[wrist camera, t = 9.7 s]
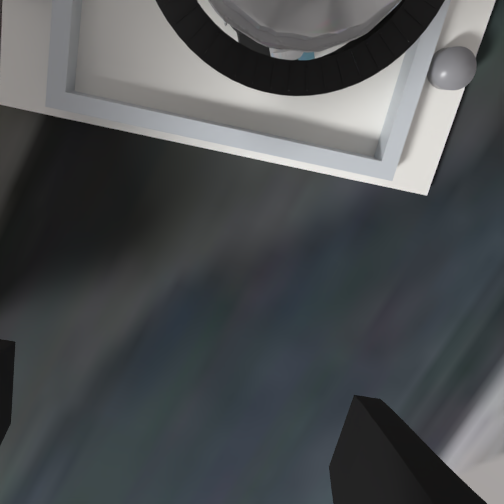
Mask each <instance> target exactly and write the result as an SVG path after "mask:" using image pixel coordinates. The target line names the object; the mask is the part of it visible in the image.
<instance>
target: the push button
mask: <svg viewBox="0 0 504 504" xmlns="http://www.w3.org/2000/svg"><path fill="white" fill-rule="evenodd" d="M208 1H209V3H210V4H211V6H212V7H213V9H214V10H215V12H216V13H217V14H218V15H219V16H220V17H221V18H222V19H223V21H224V25H225V26H227V23H228V24H229V25H230V26H231V27H232V28H233V29H234V30H235V31H236V32H237V37H238V42H237V41H236V40H234V39H233V38H232V37H230V36H229V35H228V34H226V33H225V32H224V31H223V30H222V29H221V28H220V27H219V26H217V25H216V24H215V23H214V22H213V21H212V19H211V18H210V17H209V16H208V15H207V14H206V12H205V11H204V10H203V8H202V7H201V6H200V4H199V3H198V1H197V0H156V2H157V4H158V6H159V8H160V10H161V11H162V13H163V15H164V16H165V18H166V20H167V21H168V23H169V24H170V25H171V27H172V28H173V29H174V31H175V32H176V34H177V35H178V36H179V37H180V38H181V40H182V41H183V42H184V43H185V44H186V45H187V46H188V47H189V48H190V50H191V51H193V52H194V53H195V54H196V55H197V56H198V57H199V58H200V59H201V60H203V61H204V62H205V63H206V64H208V65H209V66H210V67H212V68H213V69H215V70H216V71H217V72H219V73H221V74H222V75H224V76H226V77H228V78H229V79H231V80H233V81H235V82H237V83H240V84H242V85H244V86H246V87H249V88H252V89H256V90H259V91H262V92H266V93H272V94H277V95H286V96H312V95H319V94H326V93H330V92H334V91H338V90H342V89H345V88H347V87H350V86H353V85H355V84H358V83H360V82H362V81H364V80H366V79H368V78H370V77H372V76H374V75H375V74H377V73H378V72H380V71H381V70H383V69H384V68H386V67H388V66H389V65H390V64H391V63H393V62H394V61H395V60H396V59H398V58H399V57H400V56H401V55H402V54H404V53H405V52H406V51H407V50H408V49H409V48H410V47H411V46H412V45H413V44H414V43H415V42H416V41H417V39H418V38H419V37H420V36H421V35H422V33H423V32H424V31H425V30H426V29H427V27H428V26H429V25H430V23H431V22H432V20H433V19H434V17H435V16H436V15H437V13H438V11H439V10H440V8H441V6H442V5H443V3H444V1H445V0H208ZM347 42H348V43H347ZM344 43H347V44H346V45H344V46H342V47H341V48H339V49H337V50H336V51H334V52H331V53H329V54H327V55H324V56H322V57H318V58H315V56H314V52H320V51H323V50H326V49H329V48H332V47H335V46H338V45H341V44H344Z"/></svg>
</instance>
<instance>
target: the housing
mask: <svg viewBox="0 0 504 504" xmlns="http://www.w3.org/2000/svg"><path fill="white" fill-rule="evenodd" d="M197 1H198V3H199V4H200V6H201V7H202V8H203V10H204V11H205V12H206V14H207V15H208V16H209V17H210V18H211V19H212V21H213V22H214V23H215V24H216V25H217V26H219V27H220V28H221V29H222V30H223V31H224V32H225V33H226V34H228V35H229V36H230V37H232V38H233V39H234V40H236V41H237V42H238V37H237V32H236V31H235V30H234V29H233V28H232V27H231V26H230V25H229V24H228V23H227V26H225V25H224V21H223V19H222V18H221V17H220V16H219V15H218V14H217V13H216V12H215V10H214V9H213V7H212V6H211V4H210V3H209V1H208V0H197ZM495 1H496V0H445V1H444V3H443V5H442V6H441V8H440V10H439V11H438V13H437V15H436V16H435V17H434V19H433V20H432V22H431V23H430V25H429V26H428V27H427V29H426V30H425V31H424V32H423V33H422V35H421V36H420V37H419V38H418V39H417V41H416V42H415V43H414V44H413V45H412V46H411V47H410V48H409V49H408V50H407V51H406V52H405V53H404V54H402V55H401V56H400V57H399V58H398V59H396V60H395V61H394V62H393V63H391V64H390V65H389V66H388V67H386V68H384V69H383V70H381V71H380V72H378V73H377V74H375V75H374V76H372V77H370V78H368V79H366V80H364V81H362V82H360V83H358V84H355V85H353V86H350V87H347V88H345V89H342V90H338V91H334V92H330V93H326V94H319V95H312V96H286V95H277V94H272V93H266V92H262V91H259V90H256V89H252V88H249V87H246V86H244V85H242V84H240V83H237V82H235V81H233V80H231V79H229V78H228V77H226V76H224V75H222V74H221V73H219V72H217V71H216V70H215V69H213V68H212V67H210V66H209V65H208V64H206V63H205V62H204V61H203V60H201V59H200V58H199V57H198V56H197V55H196V54H195V53H194V52H193V51H191V50H190V48H189V47H188V46H187V45H186V44H185V43H184V42H183V41H182V40H181V38H180V37H179V36H178V35H177V34H176V32H175V31H174V29H173V28H172V27H171V25H170V24H169V23H168V21H167V20H166V18H165V16H164V15H163V13H162V11H161V10H160V8H159V6H158V4H157V2H156V0H2V28H1V57H0V105H4V106H9V107H13V108H18V109H23V110H28V111H32V112H37V113H42V114H46V115H51V116H56V117H60V118H65V119H70V120H75V121H79V122H84V123H89V124H93V125H98V126H103V127H107V128H112V129H117V130H122V131H126V132H131V133H136V134H140V135H145V136H150V137H154V138H159V139H164V140H169V141H173V142H178V143H183V144H187V145H192V146H197V147H201V148H206V149H211V150H216V151H220V152H225V153H230V154H234V155H239V156H244V157H248V158H253V159H258V160H263V161H267V162H272V163H277V164H281V165H286V166H291V167H295V168H300V169H305V170H309V171H314V172H319V173H324V174H328V175H333V176H338V177H342V178H347V179H352V180H356V181H361V182H366V183H371V184H375V185H380V186H385V187H389V188H394V189H399V190H403V191H408V192H413V193H418V194H422V195H427V194H428V191H429V188H430V185H431V183H432V180H433V177H434V174H435V171H436V168H437V166H438V163H439V160H440V157H441V154H442V151H443V148H444V146H445V143H446V140H447V137H448V134H449V131H450V129H451V126H452V123H453V120H454V117H455V114H456V112H457V109H458V106H459V103H460V100H461V97H462V95H463V92H464V89H465V86H467V85H468V84H469V83H470V82H471V80H472V79H473V77H474V75H475V72H476V68H477V62H476V55H477V52H478V49H479V46H480V43H481V41H482V38H483V35H484V32H485V29H486V26H487V24H488V21H489V18H490V15H491V12H492V9H493V7H494V4H495ZM347 43H348V42H347ZM347 43H344V44H341V45H338V46H335V47H332V48H329V49H326V50H323V51H320V52H314V56H315V58H318V57H322V56H324V55H327V54H329V53H331V52H334V51H336V50H337V49H339V48H341V47H342V46H344V45H346V44H347Z"/></svg>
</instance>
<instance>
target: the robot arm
mask: <svg viewBox="0 0 504 504" xmlns="http://www.w3.org/2000/svg"><path fill="white" fill-rule="evenodd" d="M14 357H15V342H14V341H8V340H1V339H0V445H1V443H2V441H3V438H4V436H5V434H6V432H7V430H8V428H9V426H10V424H11V411H12V393H13V375H14ZM329 470H330V479H331V488H332V496H333V503H334V504H487V503H486V502H485V501H484V500H483V499H481V497H479V496H478V495H477V494H476V493H475V492H474V491H473V490H472V489H471V488H470V487H468V485H467V484H466V483H465V482H463V481H462V480H461V479H460V478H459V477H458V476H457V475H456V474H455V473H454V472H453V471H452V470H451V469H450V468H449V467H448V466H447V465H446V464H445V463H444V462H443V461H442V460H441V459H440V458H439V457H438V456H437V455H436V454H435V453H434V452H433V451H432V450H431V449H430V448H429V447H428V446H427V445H426V444H425V443H424V442H423V441H422V440H421V439H420V438H419V437H418V436H417V434H416V433H415V432H414V431H413V430H412V429H411V428H410V427H409V426H408V425H407V424H406V423H405V422H404V421H403V420H402V419H401V418H400V417H399V416H398V415H397V414H396V413H395V412H394V411H393V410H392V409H391V408H390V407H389V406H388V405H387V404H385V403H384V402H383V401H382V400H381V399H377V398H370V397H364V396H357V395H354V397H353V400H352V403H351V406H350V408H349V411H348V414H347V417H346V420H345V423H344V426H343V428H342V431H341V434H340V437H339V440H338V443H337V446H336V448H335V451H334V454H333V457H332V460H331V463H330V466H329Z"/></svg>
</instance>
